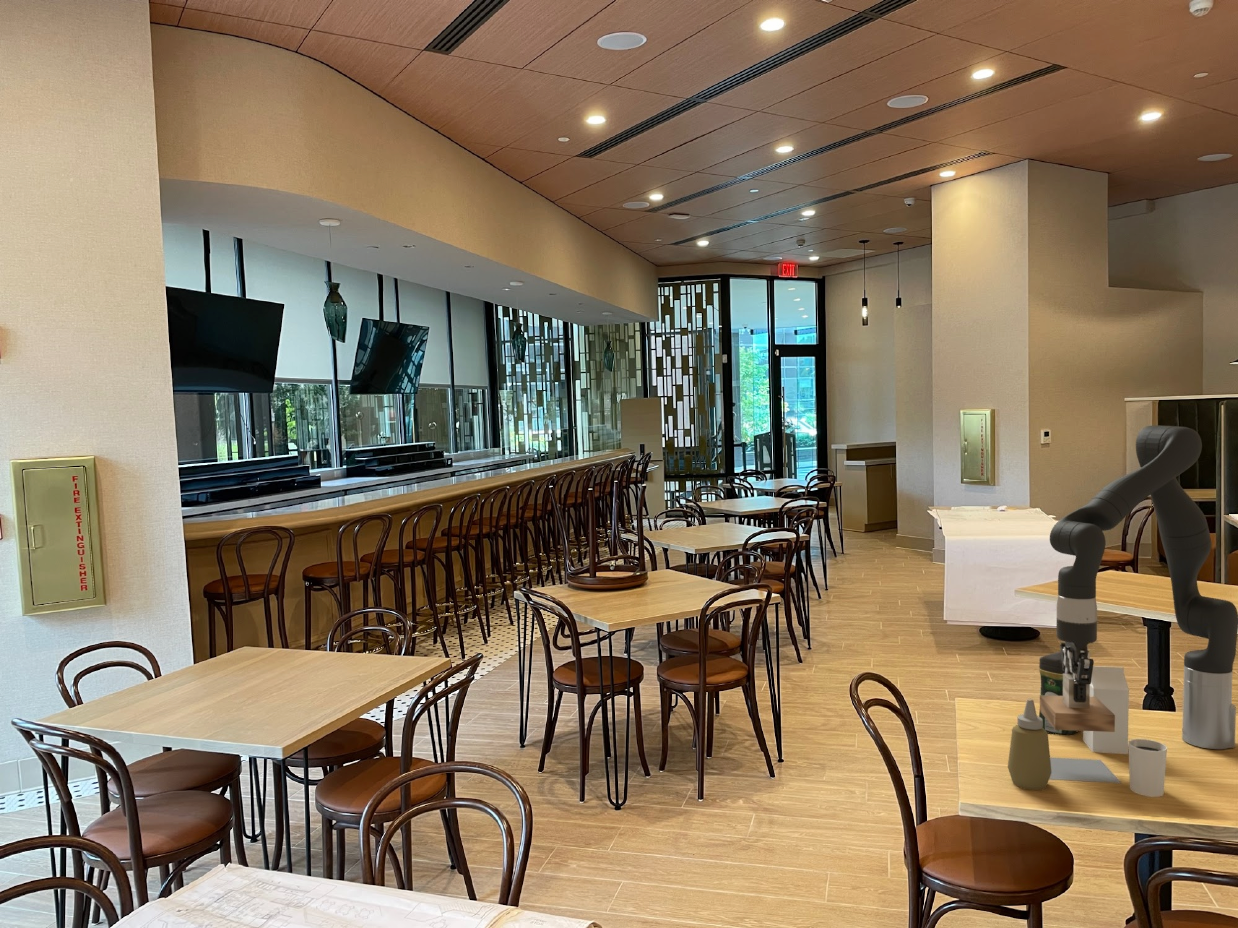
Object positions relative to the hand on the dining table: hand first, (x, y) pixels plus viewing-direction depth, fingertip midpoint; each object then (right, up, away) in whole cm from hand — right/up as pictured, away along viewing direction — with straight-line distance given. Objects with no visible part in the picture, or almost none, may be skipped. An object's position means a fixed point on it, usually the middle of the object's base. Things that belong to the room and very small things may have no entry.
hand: (1076, 697), depth 187 cm
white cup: (+9, -17, -10) cm, 21 cm away
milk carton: (+13, -15, +13) cm, 24 cm away
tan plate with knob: (0, -5, 0) cm, 5 cm away
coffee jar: (+9, -15, +26) cm, 31 cm away
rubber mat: (0, -16, +1) cm, 16 cm away
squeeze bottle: (-12, -17, -6) cm, 22 cm away
